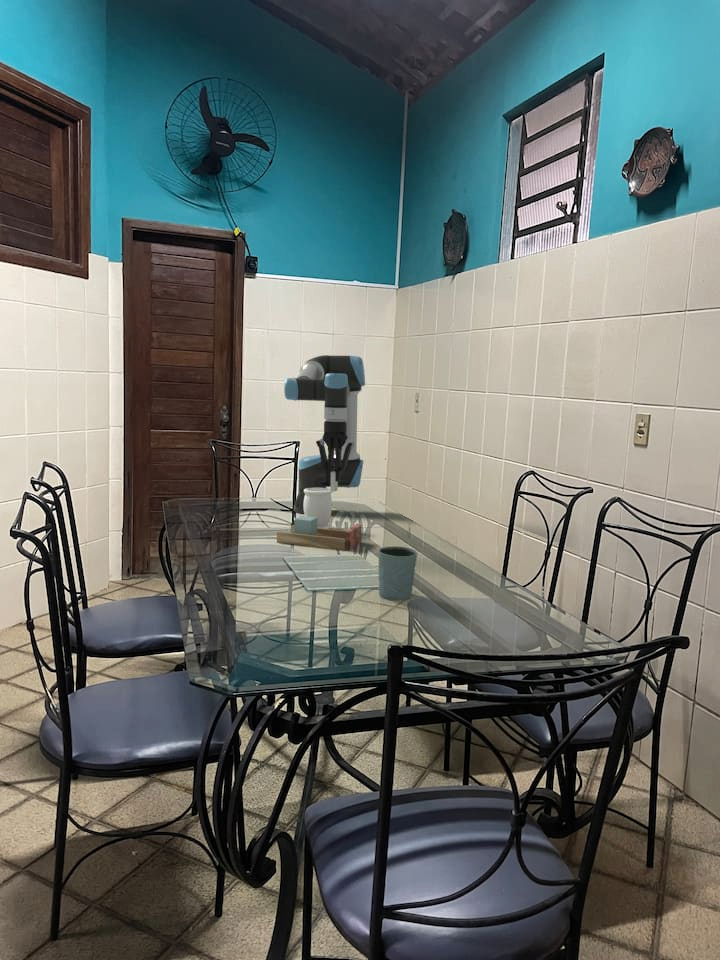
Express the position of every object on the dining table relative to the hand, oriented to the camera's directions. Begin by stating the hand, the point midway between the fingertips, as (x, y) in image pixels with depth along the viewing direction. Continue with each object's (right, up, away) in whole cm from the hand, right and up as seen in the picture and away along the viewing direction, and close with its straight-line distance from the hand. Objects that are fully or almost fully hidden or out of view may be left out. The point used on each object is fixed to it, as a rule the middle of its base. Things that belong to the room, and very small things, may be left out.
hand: (333, 490), depth 232 cm
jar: (-7, -15, +24) cm, 29 cm away
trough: (-5, -18, +4) cm, 19 cm away
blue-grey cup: (+18, -27, -50) cm, 60 cm away
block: (-10, -17, +6) cm, 21 cm away
